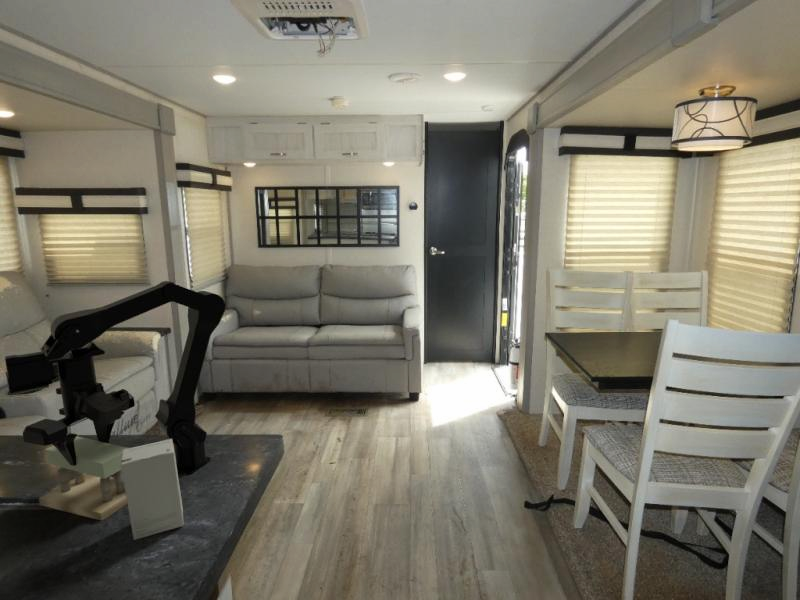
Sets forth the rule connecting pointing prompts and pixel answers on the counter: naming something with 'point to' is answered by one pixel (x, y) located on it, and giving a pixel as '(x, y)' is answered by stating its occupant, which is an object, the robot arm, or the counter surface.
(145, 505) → the skincare box
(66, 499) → the peg stand
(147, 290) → the robot arm
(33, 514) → the counter surface
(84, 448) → the plank
